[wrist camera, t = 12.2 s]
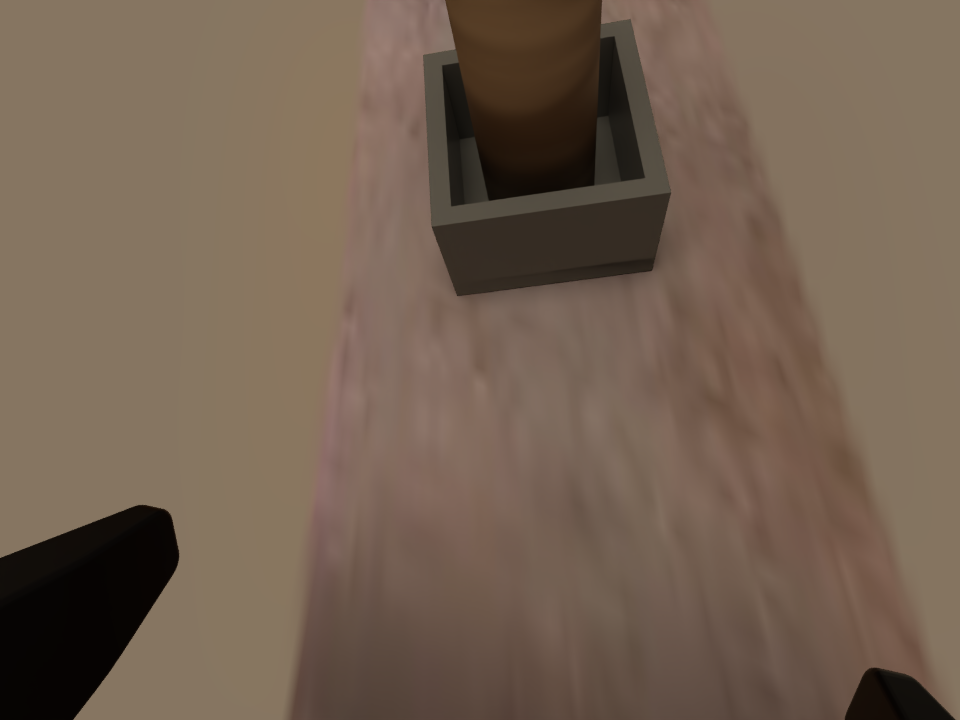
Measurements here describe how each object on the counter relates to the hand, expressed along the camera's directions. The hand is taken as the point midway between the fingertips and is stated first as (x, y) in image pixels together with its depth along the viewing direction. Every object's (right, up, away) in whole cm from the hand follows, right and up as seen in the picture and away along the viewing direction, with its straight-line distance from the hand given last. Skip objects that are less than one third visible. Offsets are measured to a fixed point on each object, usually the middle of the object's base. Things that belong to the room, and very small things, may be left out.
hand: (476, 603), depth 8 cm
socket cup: (+3, +10, +18) cm, 21 cm away
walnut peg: (+3, +10, +17) cm, 20 cm away
